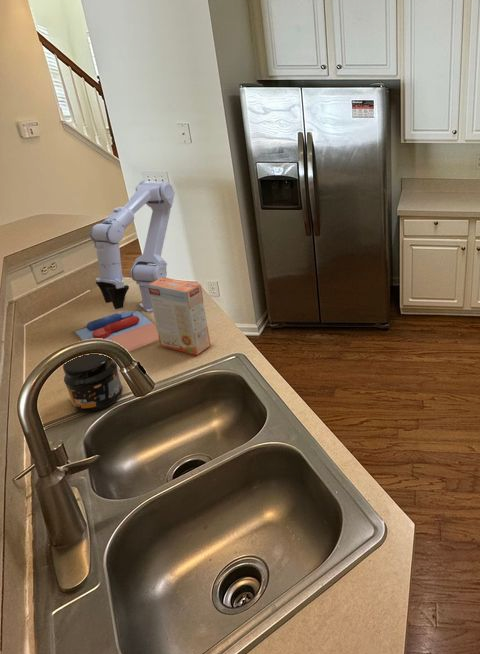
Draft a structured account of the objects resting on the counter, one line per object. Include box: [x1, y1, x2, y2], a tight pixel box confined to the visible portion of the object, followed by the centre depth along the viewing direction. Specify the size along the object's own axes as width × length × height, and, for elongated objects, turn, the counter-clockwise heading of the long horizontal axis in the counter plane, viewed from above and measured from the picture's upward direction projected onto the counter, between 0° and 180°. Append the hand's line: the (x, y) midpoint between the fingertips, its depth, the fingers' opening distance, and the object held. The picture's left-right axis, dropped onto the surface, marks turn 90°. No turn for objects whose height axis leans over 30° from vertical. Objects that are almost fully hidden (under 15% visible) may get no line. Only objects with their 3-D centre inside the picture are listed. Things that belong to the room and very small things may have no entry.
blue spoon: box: [85, 310, 133, 330], centre depth 139 cm, size 13×5×3 cm, turn 141°
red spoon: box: [92, 316, 139, 339], centre depth 135 cm, size 13×5×3 cm, turn 141°
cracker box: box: [148, 277, 211, 356], centre depth 126 cm, size 14×6×21 cm, turn 71°
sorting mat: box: [74, 310, 159, 353], centre depth 134 cm, size 18×24×1 cm
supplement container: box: [62, 354, 124, 413], centre depth 105 cm, size 10×10×12 cm
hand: (114, 305), depth 134 cm, fingers open, 7 cm apart
